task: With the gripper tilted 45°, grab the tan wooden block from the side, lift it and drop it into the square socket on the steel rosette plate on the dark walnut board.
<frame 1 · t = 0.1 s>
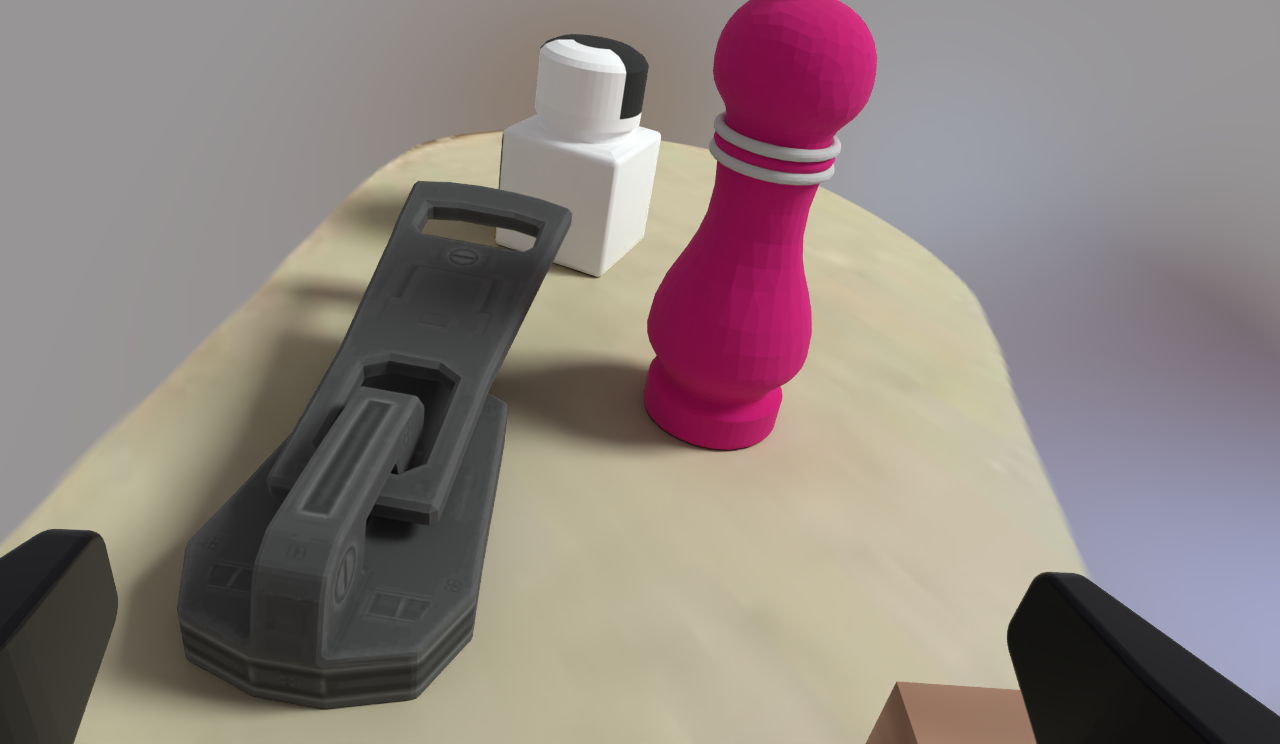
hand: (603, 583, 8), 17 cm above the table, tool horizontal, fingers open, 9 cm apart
zipper pull: (418, 449, 36), on the table
pepper mill: (707, 413, 41), on the table
medicine bottle: (571, 245, 54), on the table
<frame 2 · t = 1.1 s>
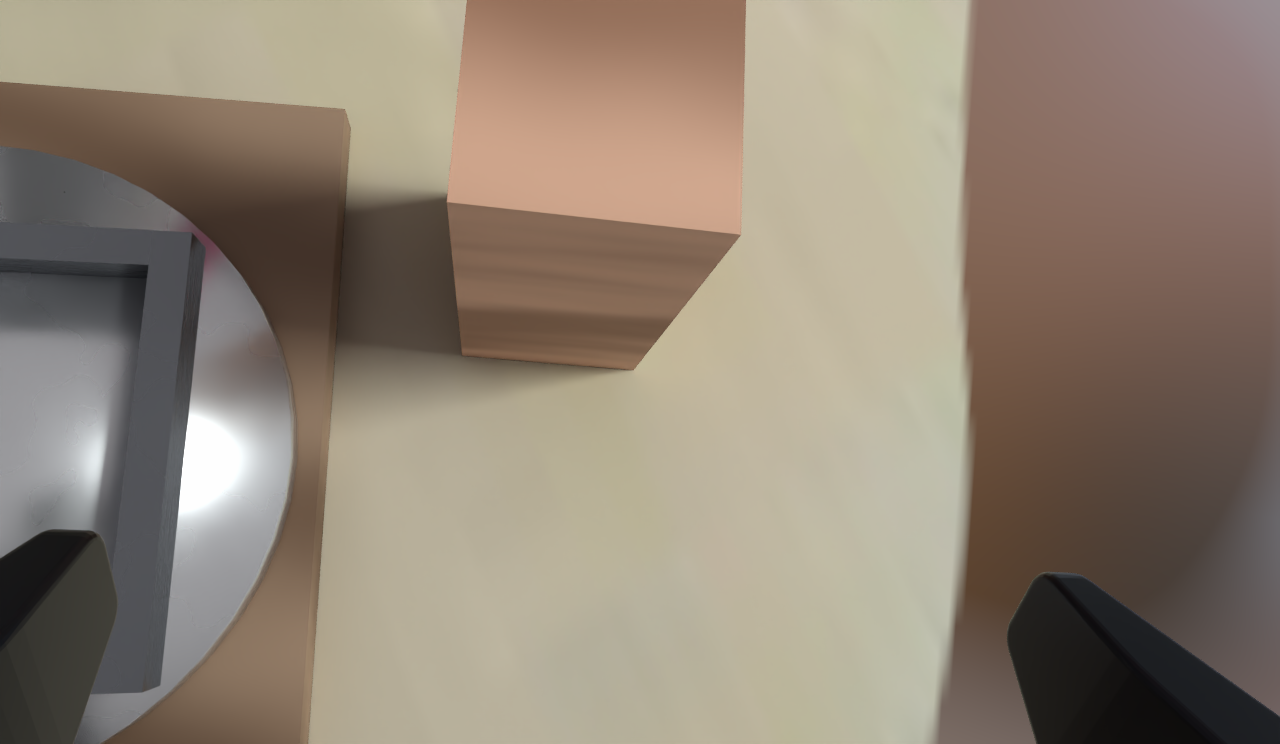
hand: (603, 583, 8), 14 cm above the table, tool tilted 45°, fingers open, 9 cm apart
tan wooden block: (554, 281, 23), on the table
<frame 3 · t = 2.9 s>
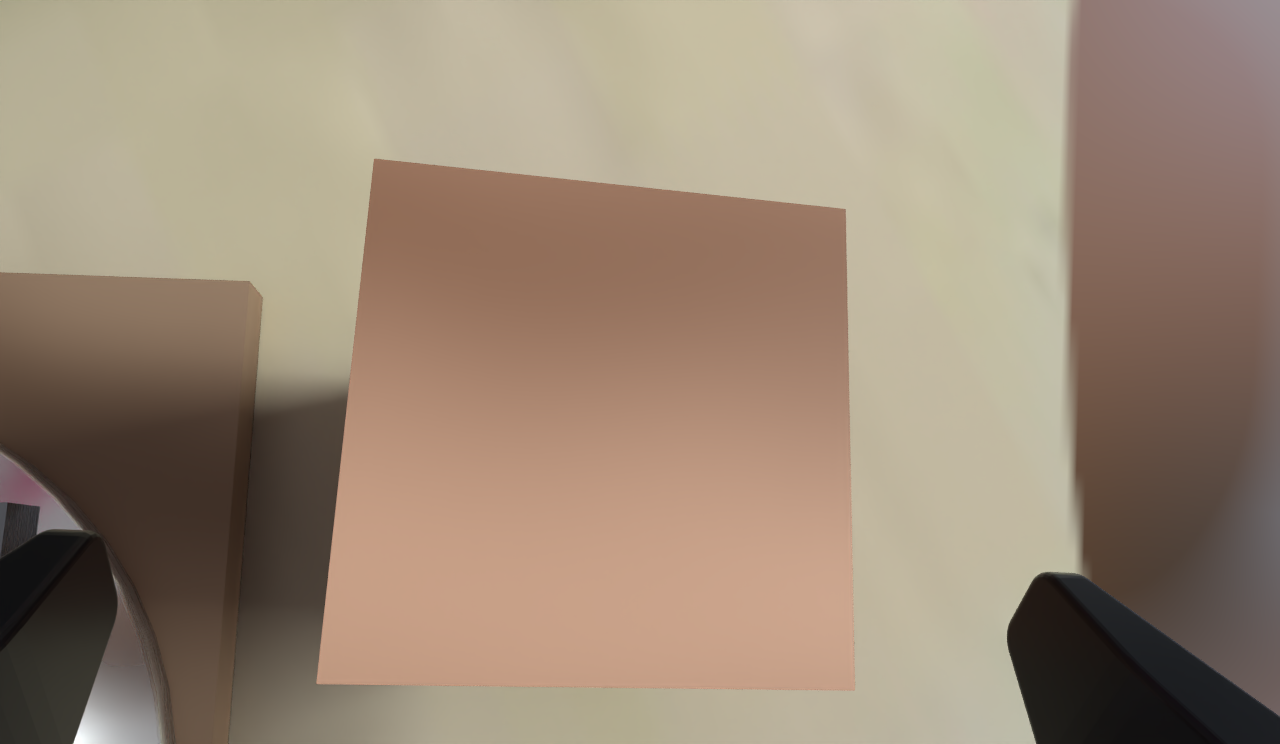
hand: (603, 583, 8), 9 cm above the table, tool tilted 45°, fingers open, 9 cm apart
tan wooden block: (540, 499, 17), on the table
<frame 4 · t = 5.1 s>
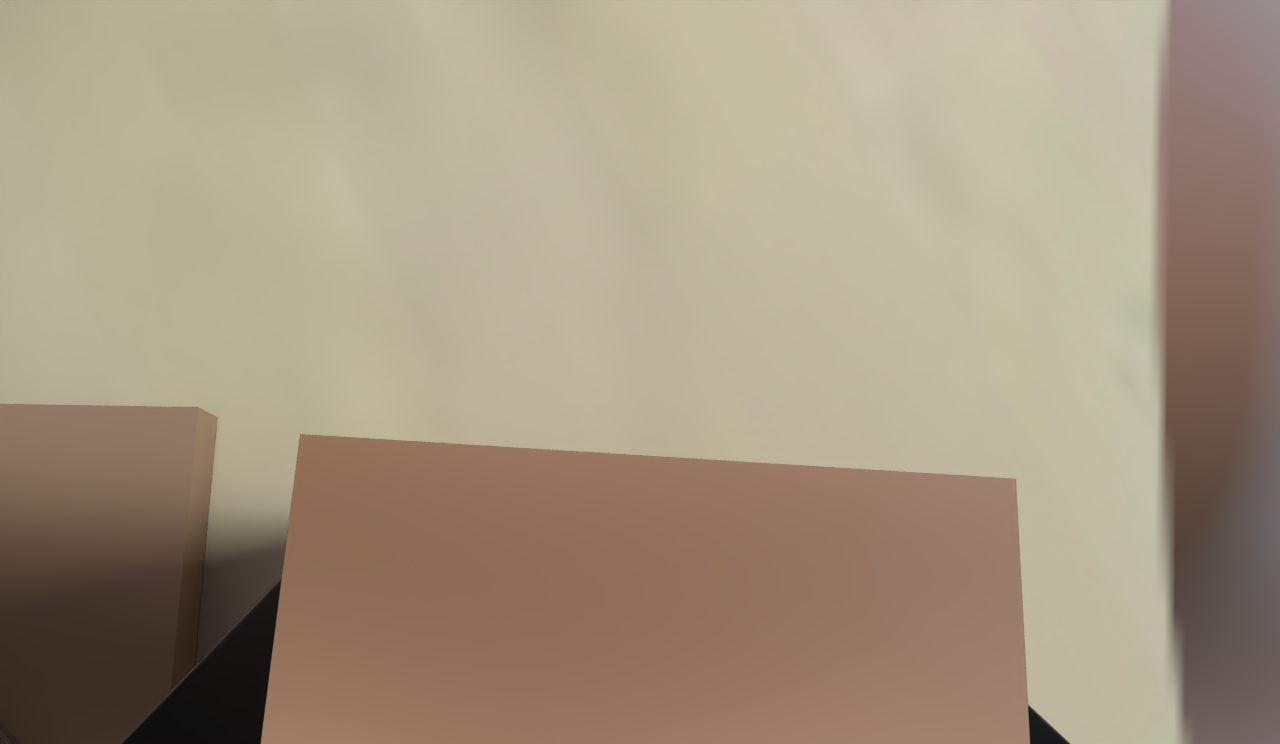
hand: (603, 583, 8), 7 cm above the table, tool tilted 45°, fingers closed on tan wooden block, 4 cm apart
tan wooden block: (547, 659, 14), on the table, touching gripper
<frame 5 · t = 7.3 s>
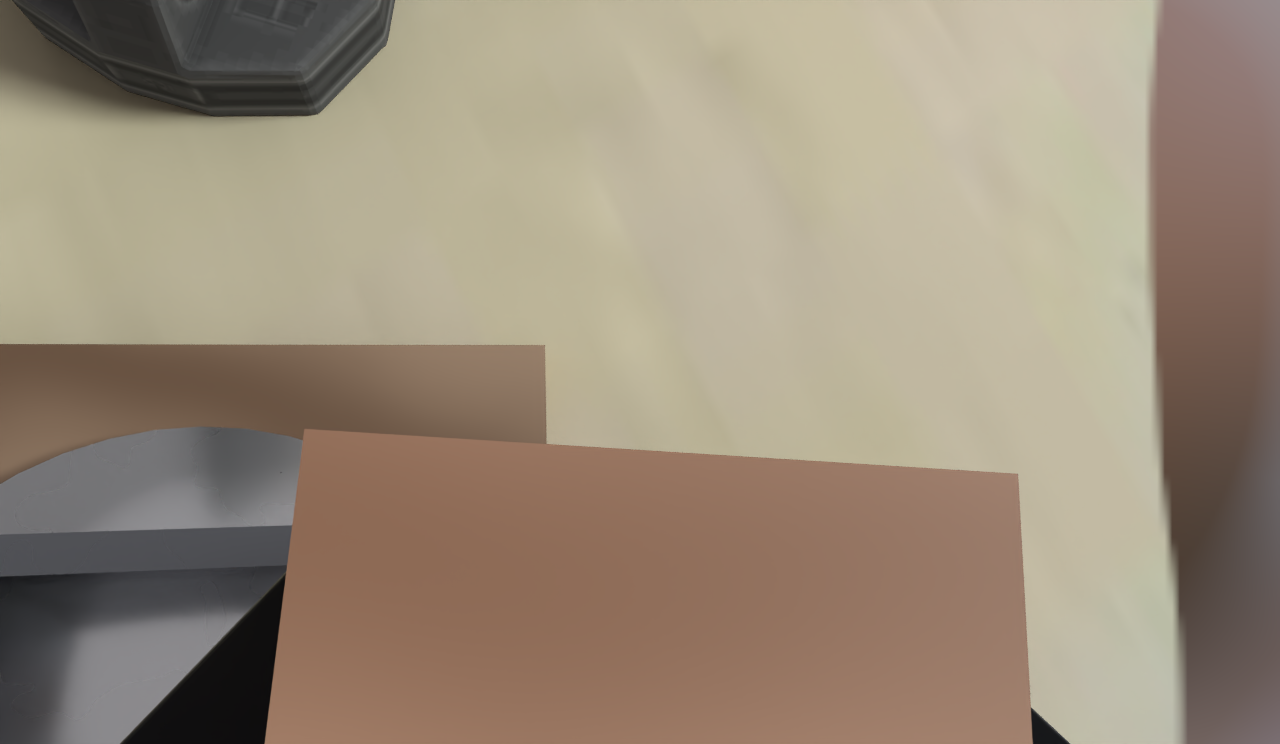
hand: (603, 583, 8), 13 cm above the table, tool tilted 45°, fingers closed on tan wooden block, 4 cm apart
tan wooden block: (548, 657, 14), point 7 cm above the table, touching gripper
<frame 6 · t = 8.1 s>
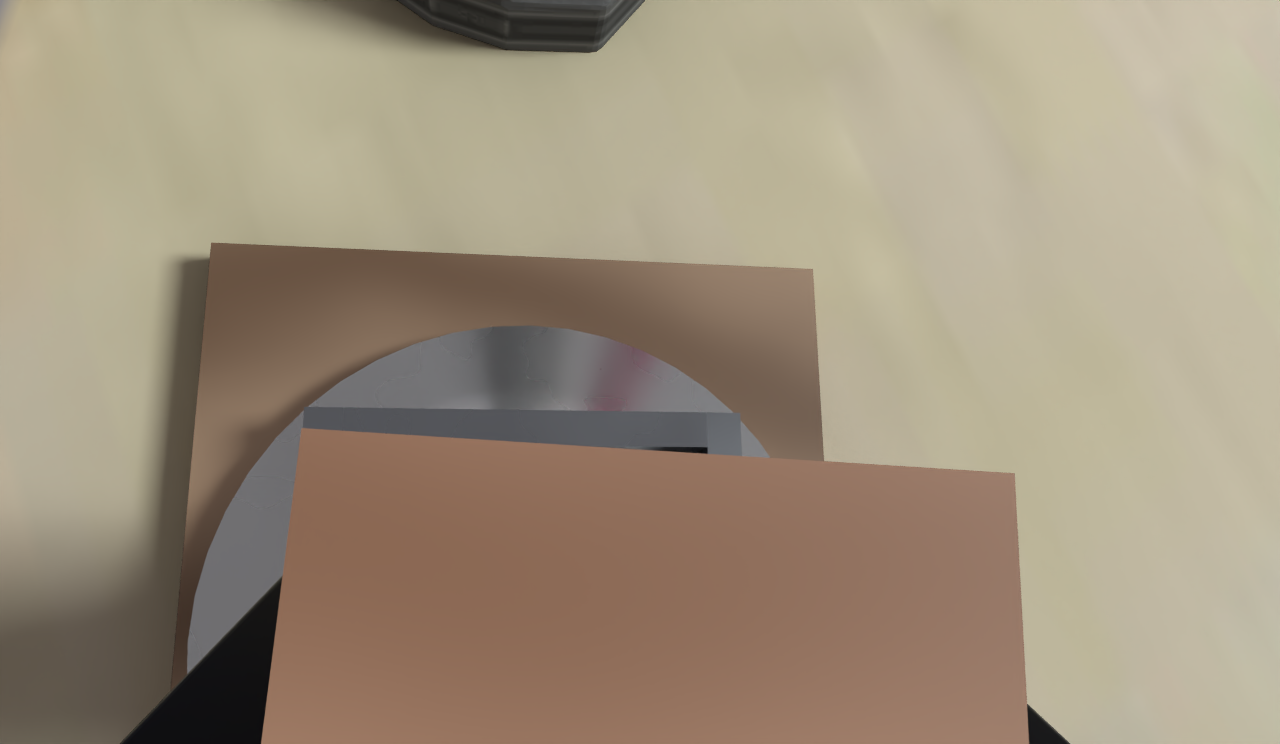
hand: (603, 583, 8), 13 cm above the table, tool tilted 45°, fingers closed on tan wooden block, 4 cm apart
tan wooden block: (547, 657, 14), point 7 cm above the table, touching gripper
rosette plate: (523, 624, 21), resting on walnut board
walnut board: (523, 624, 21), on the table
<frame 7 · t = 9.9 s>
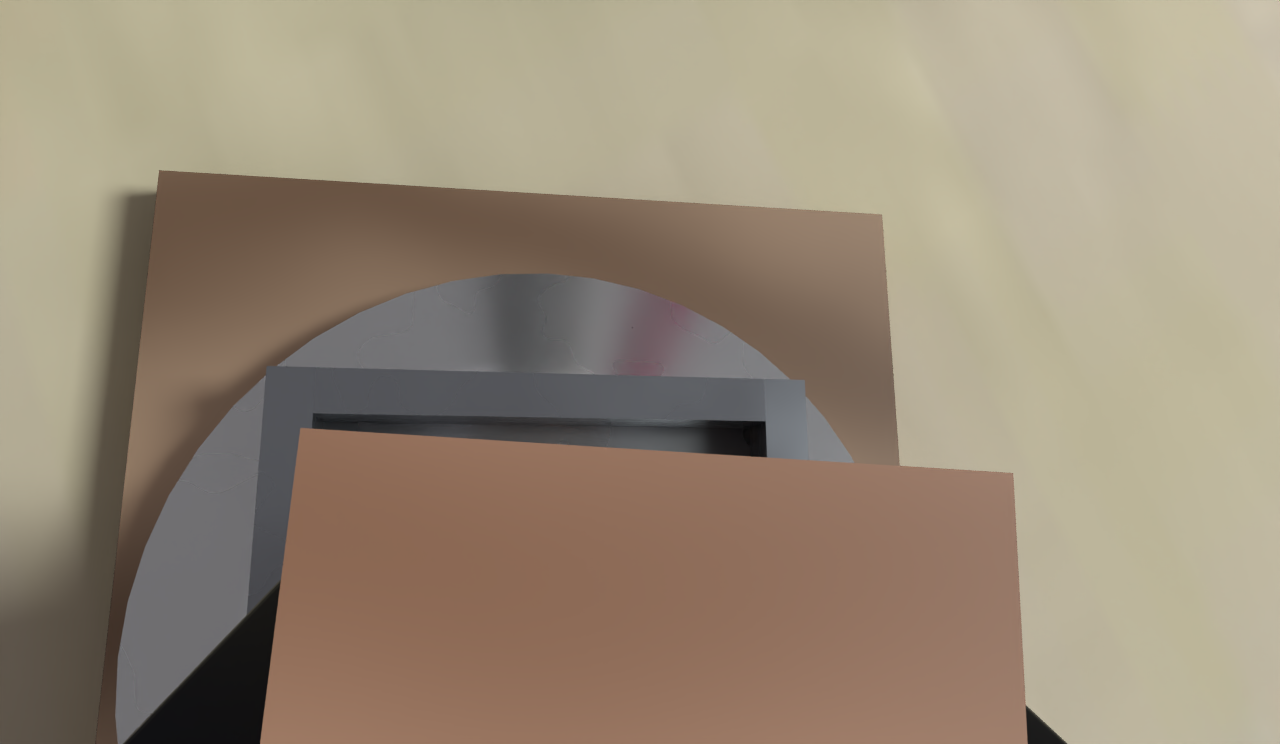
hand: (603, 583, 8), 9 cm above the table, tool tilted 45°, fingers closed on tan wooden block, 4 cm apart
tan wooden block: (547, 657, 15), point 3 cm above the table, touching gripper
rosette plate: (536, 637, 17), resting on walnut board
walnut board: (536, 637, 17), on the table
when the fingers open (9 cm above the table, at t = 9.9 s): tan wooden block drops 1 cm, resting on rosette plate.
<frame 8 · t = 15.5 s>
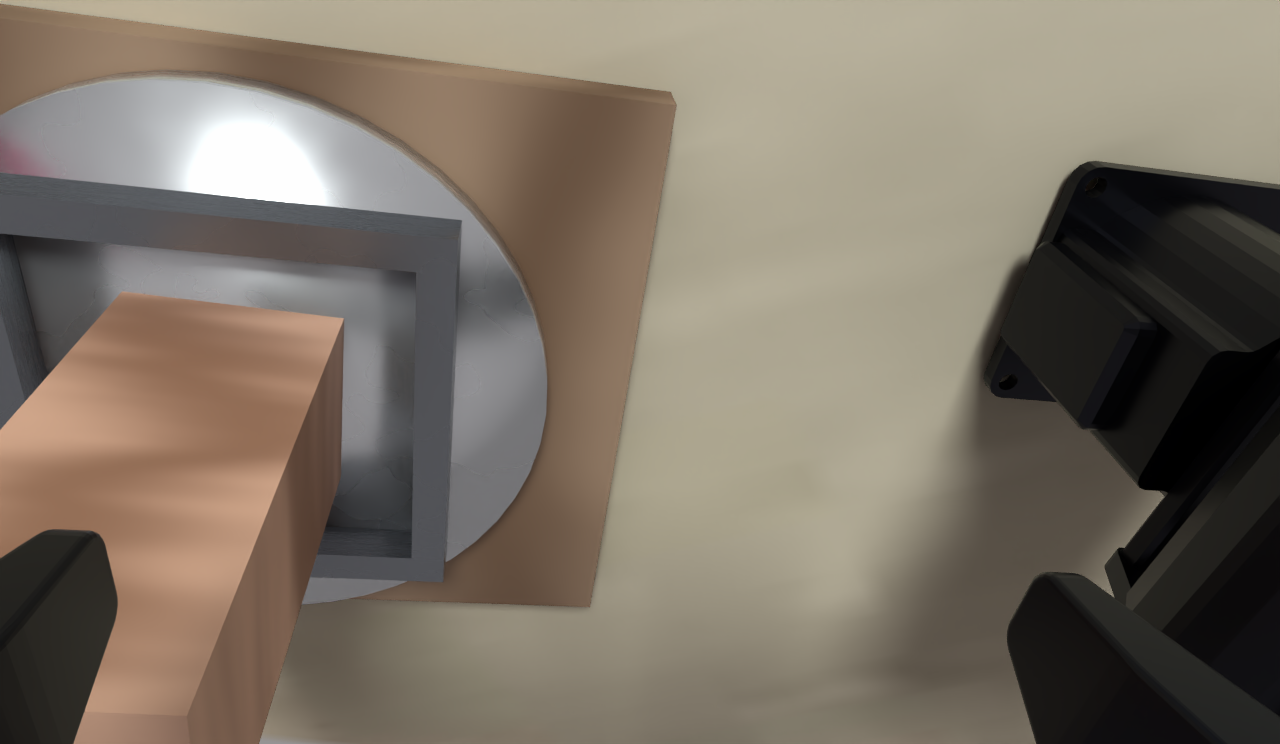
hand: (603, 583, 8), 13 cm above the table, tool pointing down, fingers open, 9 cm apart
tan wooden block: (240, 391, 20), point 2 cm above the table, touching rosette plate
rosette plate: (261, 351, 21), resting on walnut board
walnut board: (261, 351, 21), on the table
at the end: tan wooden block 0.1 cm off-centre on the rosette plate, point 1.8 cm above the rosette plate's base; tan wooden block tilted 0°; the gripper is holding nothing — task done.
